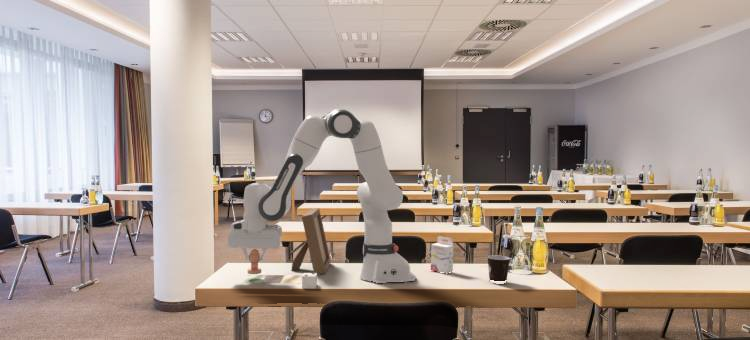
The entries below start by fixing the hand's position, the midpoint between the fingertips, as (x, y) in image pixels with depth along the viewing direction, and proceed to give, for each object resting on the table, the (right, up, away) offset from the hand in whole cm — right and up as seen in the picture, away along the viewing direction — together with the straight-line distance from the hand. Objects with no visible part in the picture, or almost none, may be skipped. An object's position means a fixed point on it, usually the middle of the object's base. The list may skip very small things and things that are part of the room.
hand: (254, 259), depth 194 cm
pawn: (0, -5, 0) cm, 5 cm away
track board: (+7, -8, +1) cm, 11 cm away
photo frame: (+19, -8, +20) cm, 29 cm away
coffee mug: (+95, -10, +2) cm, 96 cm away
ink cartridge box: (+75, -9, +20) cm, 78 cm away
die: (+23, -9, -9) cm, 26 cm away
